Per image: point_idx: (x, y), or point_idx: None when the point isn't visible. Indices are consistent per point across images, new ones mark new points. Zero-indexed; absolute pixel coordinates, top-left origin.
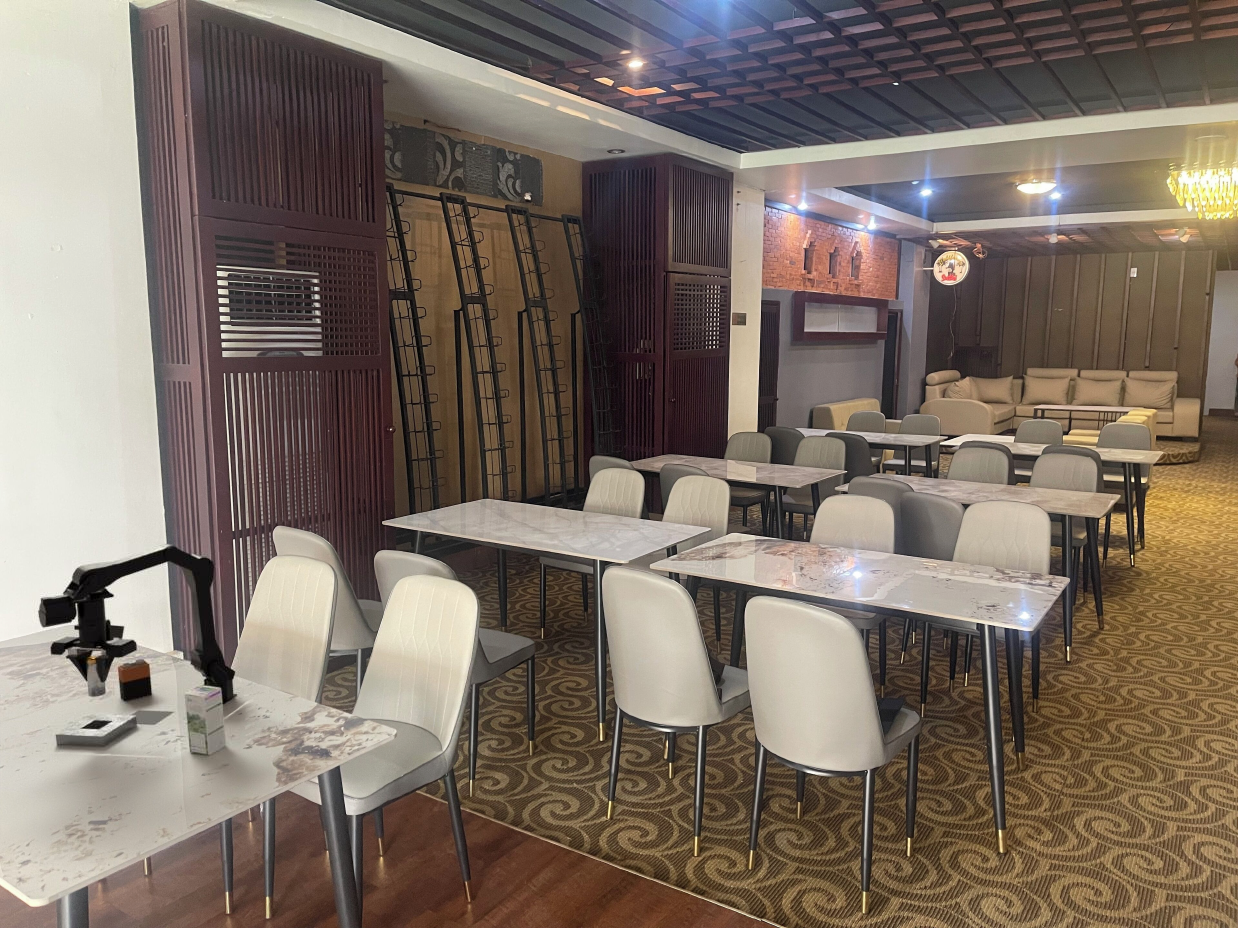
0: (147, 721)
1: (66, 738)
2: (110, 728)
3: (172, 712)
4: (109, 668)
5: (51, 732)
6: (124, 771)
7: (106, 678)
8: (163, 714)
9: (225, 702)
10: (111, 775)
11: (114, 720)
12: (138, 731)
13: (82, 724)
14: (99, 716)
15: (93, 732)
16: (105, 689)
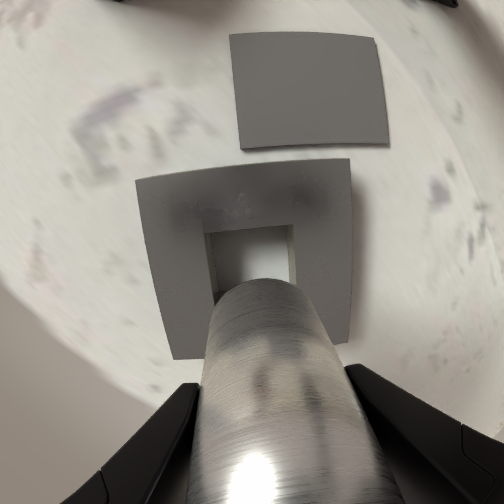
0: (347, 119)
1: None
2: (333, 287)
3: (373, 44)
4: (450, 425)
5: (76, 258)
6: (438, 378)
7: (374, 375)
8: (356, 59)
9: (456, 2)
10: (422, 395)
11: (295, 220)
12: (363, 191)
13: (191, 280)
14: (192, 195)
15: None
16: (311, 305)
